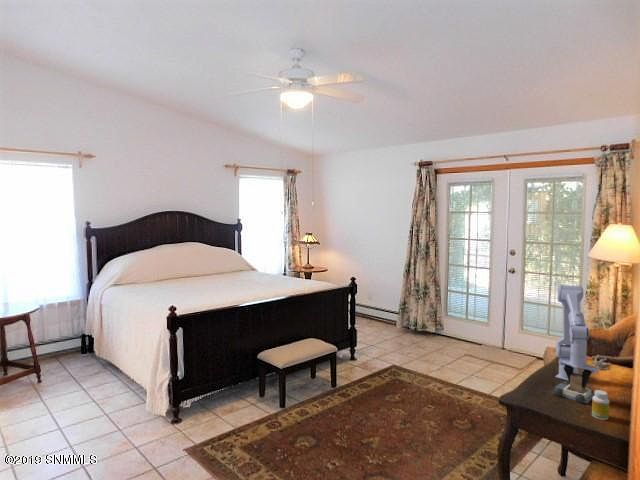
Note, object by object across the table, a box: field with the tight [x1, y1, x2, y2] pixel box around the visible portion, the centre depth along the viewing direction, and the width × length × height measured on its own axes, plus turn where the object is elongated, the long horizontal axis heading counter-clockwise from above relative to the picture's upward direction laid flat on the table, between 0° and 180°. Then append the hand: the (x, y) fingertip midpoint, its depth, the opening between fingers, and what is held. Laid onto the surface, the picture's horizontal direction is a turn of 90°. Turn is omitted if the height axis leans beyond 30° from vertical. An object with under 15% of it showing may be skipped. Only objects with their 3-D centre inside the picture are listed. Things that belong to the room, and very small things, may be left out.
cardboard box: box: [570, 373, 586, 392], centre depth 178 cm, size 4×4×6 cm
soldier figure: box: [592, 354, 611, 370], centre depth 211 cm, size 8×5×12 cm
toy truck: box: [552, 380, 595, 404], centre depth 179 cm, size 12×13×3 cm
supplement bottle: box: [591, 389, 610, 421], centre depth 160 cm, size 5×5×10 cm
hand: (577, 385), depth 178 cm, fingers closed on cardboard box, 4 cm apart
